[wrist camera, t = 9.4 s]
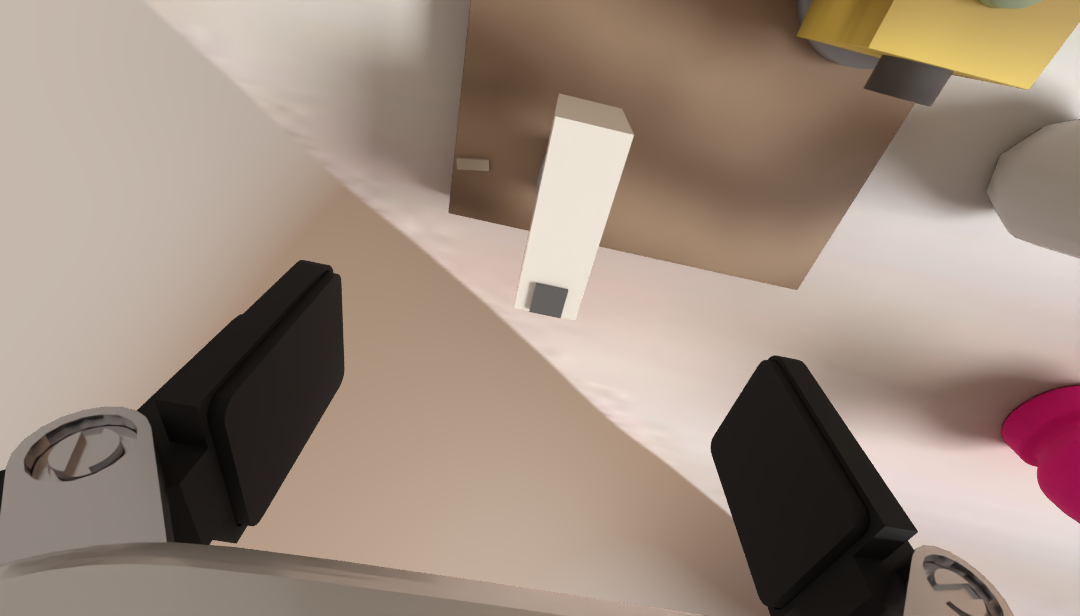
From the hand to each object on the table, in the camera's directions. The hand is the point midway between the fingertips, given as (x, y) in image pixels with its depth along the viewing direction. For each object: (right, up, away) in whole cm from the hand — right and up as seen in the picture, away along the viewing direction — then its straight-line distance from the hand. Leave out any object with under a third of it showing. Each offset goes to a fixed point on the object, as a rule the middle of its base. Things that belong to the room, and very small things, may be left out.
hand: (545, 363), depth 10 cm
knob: (+1, +8, +11) cm, 14 cm away
